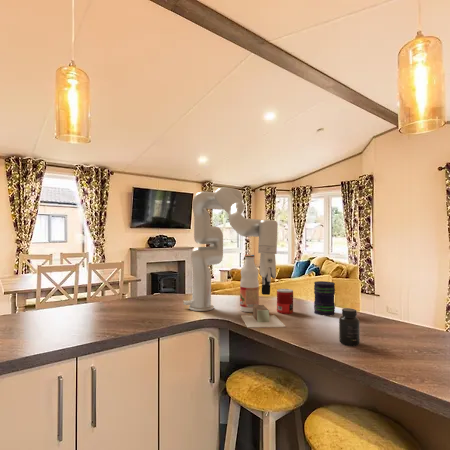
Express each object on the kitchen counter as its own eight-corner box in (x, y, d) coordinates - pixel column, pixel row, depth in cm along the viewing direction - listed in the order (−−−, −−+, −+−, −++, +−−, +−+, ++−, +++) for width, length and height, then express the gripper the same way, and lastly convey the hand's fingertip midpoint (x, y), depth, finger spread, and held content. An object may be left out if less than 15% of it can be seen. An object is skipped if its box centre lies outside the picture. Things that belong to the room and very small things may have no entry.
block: (257, 310, 138) (253, 305, 149) (257, 322, 138) (252, 315, 149) (269, 310, 139) (263, 304, 150) (268, 322, 139) (263, 315, 150)
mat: (247, 327, 131) (247, 326, 131) (241, 316, 149) (241, 315, 149) (285, 327, 133) (285, 326, 133) (274, 316, 151) (274, 315, 151)
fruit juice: (254, 313, 155) (255, 255, 156) (236, 311, 160) (237, 255, 160) (261, 309, 164) (261, 254, 165) (244, 307, 168) (244, 254, 169)
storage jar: (327, 316, 150) (327, 284, 151) (309, 312, 158) (310, 282, 158) (338, 313, 157) (338, 283, 157) (321, 309, 164) (321, 280, 165)
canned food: (293, 314, 154) (293, 291, 154) (276, 313, 156) (276, 290, 156) (293, 311, 161) (293, 289, 162) (277, 310, 163) (277, 288, 163)
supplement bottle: (335, 340, 117) (335, 307, 117) (353, 340, 117) (353, 307, 118) (344, 347, 110) (344, 311, 110) (363, 346, 111) (363, 311, 111)
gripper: (281, 251, 125) (279, 298, 125) (271, 248, 140) (270, 290, 140) (262, 251, 124) (260, 298, 124) (255, 248, 139) (253, 290, 139)
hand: (265, 294), depth 132 cm, fingers closed
